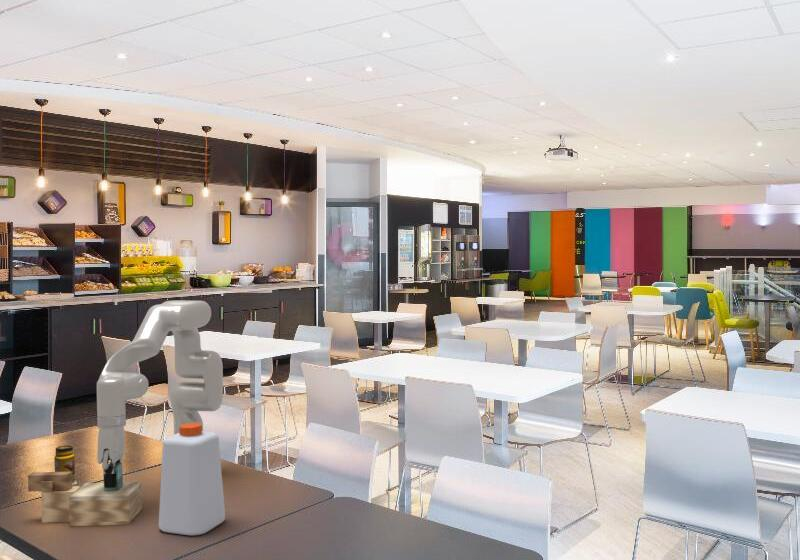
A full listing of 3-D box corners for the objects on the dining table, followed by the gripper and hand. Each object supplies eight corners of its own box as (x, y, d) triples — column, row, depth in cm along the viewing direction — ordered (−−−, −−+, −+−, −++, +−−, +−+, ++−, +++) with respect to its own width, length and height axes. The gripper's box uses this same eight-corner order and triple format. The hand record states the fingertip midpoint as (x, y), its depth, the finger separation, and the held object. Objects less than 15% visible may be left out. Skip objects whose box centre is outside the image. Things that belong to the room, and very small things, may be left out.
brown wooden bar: (72, 487, 211) (72, 471, 211) (68, 490, 208) (67, 474, 208) (33, 488, 211) (32, 472, 211) (28, 491, 208) (27, 475, 208)
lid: (141, 491, 217) (140, 458, 216) (128, 505, 205) (127, 470, 205) (85, 493, 216) (85, 459, 216) (69, 507, 204) (68, 471, 204)
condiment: (78, 483, 242) (77, 447, 242) (49, 488, 238) (48, 451, 237) (74, 478, 249) (73, 443, 248) (46, 482, 244) (45, 446, 243)
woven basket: (141, 509, 217) (140, 471, 217) (128, 524, 205) (127, 483, 205) (54, 512, 216) (53, 473, 215) (36, 527, 204) (35, 485, 203)
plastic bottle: (231, 519, 209) (229, 420, 208) (200, 538, 194) (198, 433, 193) (185, 513, 213) (183, 417, 212) (152, 532, 199) (149, 429, 198)
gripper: (108, 414, 218) (110, 476, 219) (87, 428, 201) (89, 494, 202) (134, 414, 218) (135, 475, 219) (115, 427, 202) (117, 494, 202)
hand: (113, 484), depth 210 cm, fingers closed on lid, 4 cm apart
